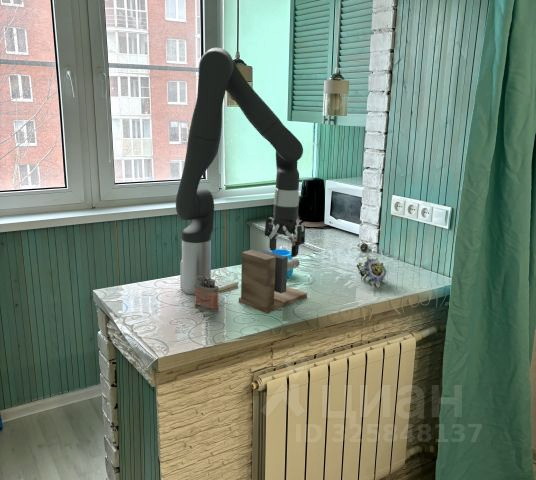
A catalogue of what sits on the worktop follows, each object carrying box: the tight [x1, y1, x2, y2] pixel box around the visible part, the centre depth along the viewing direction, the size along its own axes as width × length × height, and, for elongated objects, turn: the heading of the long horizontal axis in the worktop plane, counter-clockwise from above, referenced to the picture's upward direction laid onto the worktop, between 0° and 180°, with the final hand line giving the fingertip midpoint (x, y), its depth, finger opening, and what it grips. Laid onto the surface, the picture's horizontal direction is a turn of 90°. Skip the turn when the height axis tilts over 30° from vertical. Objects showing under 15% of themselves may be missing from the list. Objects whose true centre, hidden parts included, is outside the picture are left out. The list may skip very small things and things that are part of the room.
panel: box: [256, 249, 288, 293], centre depth 162 cm, size 2×11×11 cm, turn 48°
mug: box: [269, 248, 294, 278], centre depth 187 cm, size 12×8×8 cm
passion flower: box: [356, 255, 389, 289], centre depth 182 cm, size 11×11×12 cm
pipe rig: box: [238, 249, 308, 315], centre depth 164 cm, size 20×12×16 cm, turn 138°
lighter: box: [194, 276, 220, 314], centre depth 155 cm, size 8×3×10 cm, turn 59°
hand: (283, 253), depth 165 cm, fingers open, 8 cm apart
